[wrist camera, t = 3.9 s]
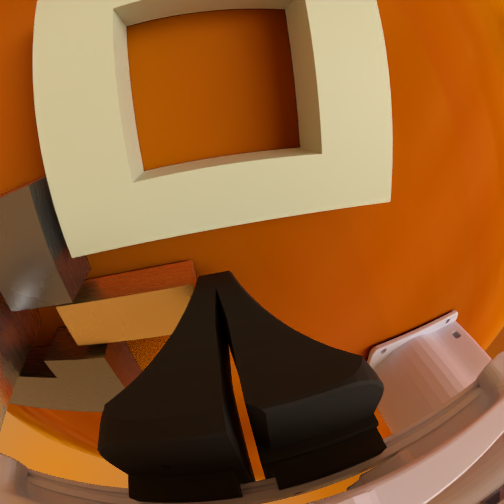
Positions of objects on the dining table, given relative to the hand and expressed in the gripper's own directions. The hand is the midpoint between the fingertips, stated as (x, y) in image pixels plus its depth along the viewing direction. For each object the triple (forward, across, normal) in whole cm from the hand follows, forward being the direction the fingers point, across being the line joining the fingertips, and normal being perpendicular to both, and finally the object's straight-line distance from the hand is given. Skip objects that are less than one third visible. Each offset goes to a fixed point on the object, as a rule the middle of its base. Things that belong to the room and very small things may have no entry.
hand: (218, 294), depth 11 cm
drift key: (+1, +4, 0) cm, 4 cm away
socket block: (+1, +12, 0) cm, 12 cm away
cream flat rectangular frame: (+1, -1, -8) cm, 8 cm away
